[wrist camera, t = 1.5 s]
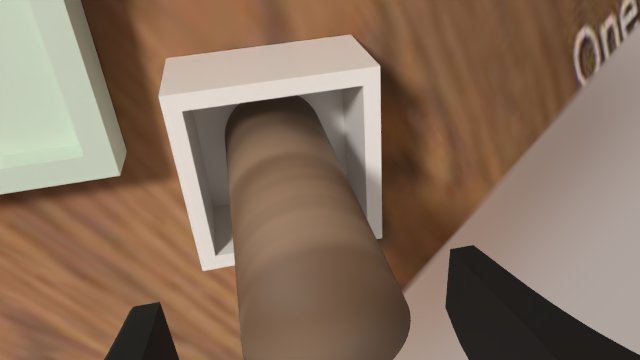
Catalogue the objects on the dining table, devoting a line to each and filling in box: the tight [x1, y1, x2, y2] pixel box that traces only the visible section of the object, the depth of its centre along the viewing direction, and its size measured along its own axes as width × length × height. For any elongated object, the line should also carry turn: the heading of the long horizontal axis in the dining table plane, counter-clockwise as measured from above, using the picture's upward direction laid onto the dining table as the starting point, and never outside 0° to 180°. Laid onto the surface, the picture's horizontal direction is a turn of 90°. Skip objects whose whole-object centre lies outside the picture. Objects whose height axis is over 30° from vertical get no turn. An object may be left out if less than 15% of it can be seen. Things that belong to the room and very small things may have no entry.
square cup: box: [158, 35, 382, 271], centre depth 20 cm, size 7×7×4 cm
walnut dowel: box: [225, 95, 411, 360], centre depth 17 cm, size 4×4×11 cm
